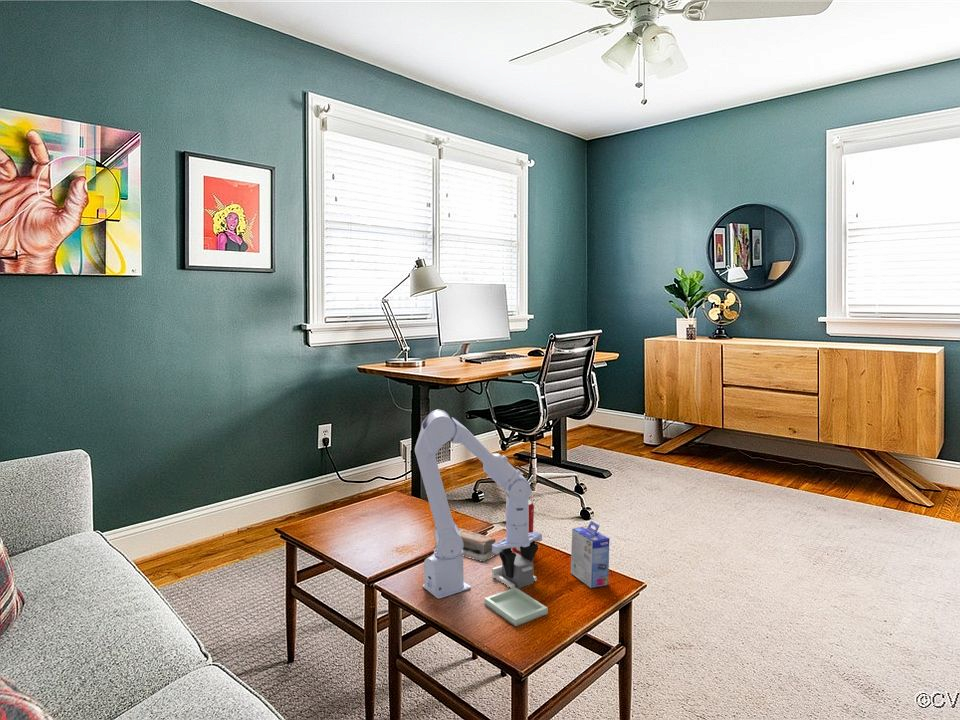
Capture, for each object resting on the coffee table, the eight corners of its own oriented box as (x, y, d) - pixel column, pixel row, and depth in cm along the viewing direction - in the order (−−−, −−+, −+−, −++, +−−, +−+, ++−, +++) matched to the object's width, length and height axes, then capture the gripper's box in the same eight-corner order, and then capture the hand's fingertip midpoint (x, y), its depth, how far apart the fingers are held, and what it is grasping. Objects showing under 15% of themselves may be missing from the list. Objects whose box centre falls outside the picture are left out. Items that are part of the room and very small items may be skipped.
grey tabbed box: (520, 589, 149) (520, 568, 149) (502, 577, 156) (502, 557, 155) (535, 584, 152) (535, 563, 151) (516, 573, 158) (516, 553, 158)
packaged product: (433, 532, 175) (455, 522, 183) (433, 548, 176) (455, 537, 184) (483, 546, 165) (504, 535, 172) (483, 564, 165) (504, 551, 173)
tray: (515, 626, 132) (515, 619, 132) (484, 604, 142) (484, 597, 142) (547, 613, 138) (547, 607, 137) (515, 593, 147) (515, 587, 147)
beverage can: (521, 545, 176) (521, 495, 174) (538, 552, 171) (538, 500, 170) (507, 551, 172) (507, 500, 170) (524, 558, 167) (524, 505, 166)
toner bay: (510, 589, 149) (510, 579, 149) (492, 577, 156) (491, 568, 156) (537, 580, 154) (537, 570, 154) (518, 569, 161) (518, 559, 160)
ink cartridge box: (610, 585, 151) (610, 529, 150) (591, 589, 149) (592, 532, 147) (588, 569, 160) (588, 516, 159) (570, 573, 158) (570, 519, 156)
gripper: (503, 533, 145) (503, 587, 146) (549, 520, 153) (549, 572, 154) (486, 524, 151) (487, 576, 152) (532, 512, 159) (532, 562, 160)
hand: (517, 573), depth 154 cm, fingers closed on grey tabbed box, 5 cm apart
